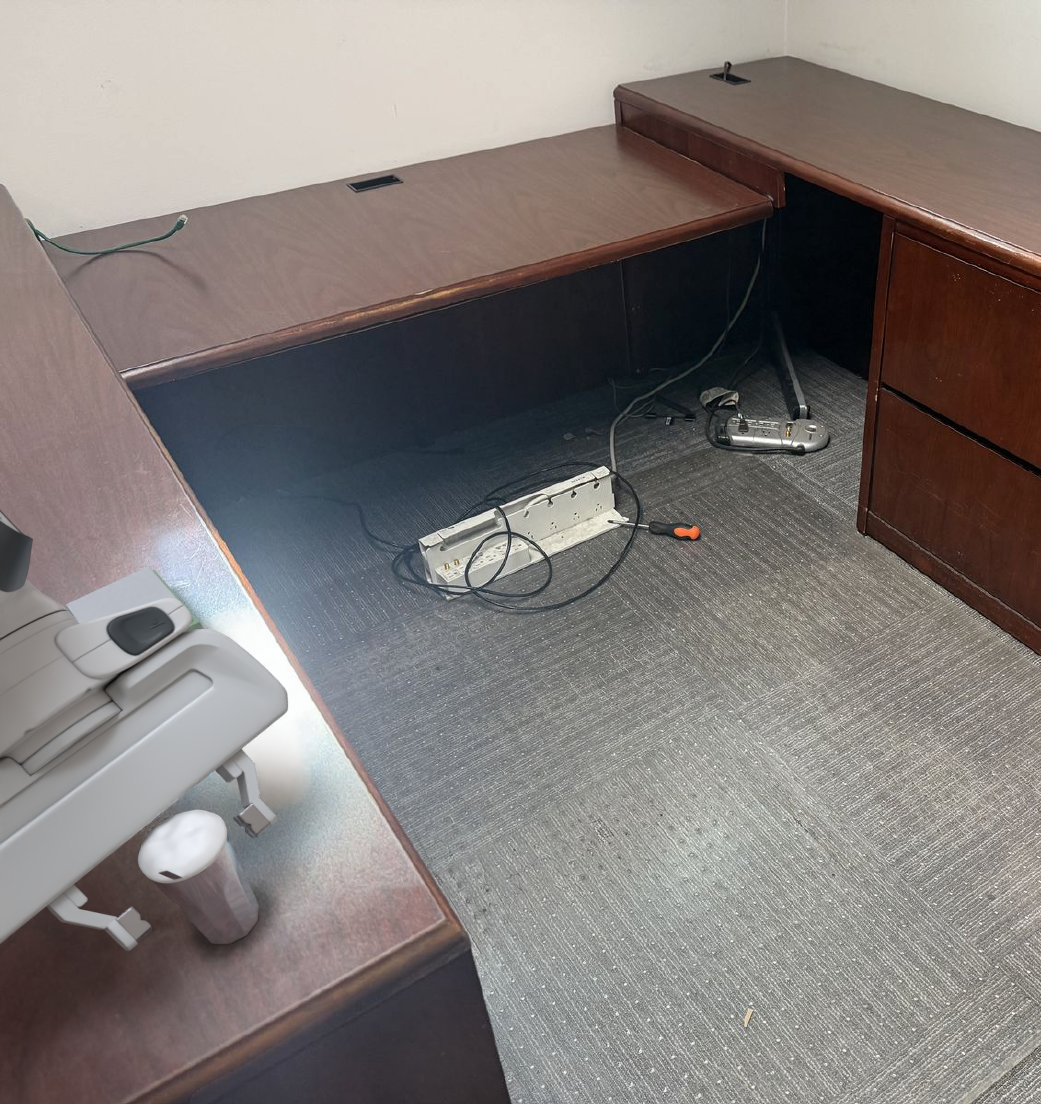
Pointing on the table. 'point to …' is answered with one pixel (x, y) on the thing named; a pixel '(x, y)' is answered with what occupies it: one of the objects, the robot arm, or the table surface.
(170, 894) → the milkshake
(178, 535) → the table surface
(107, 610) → the scale
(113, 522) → the table surface
